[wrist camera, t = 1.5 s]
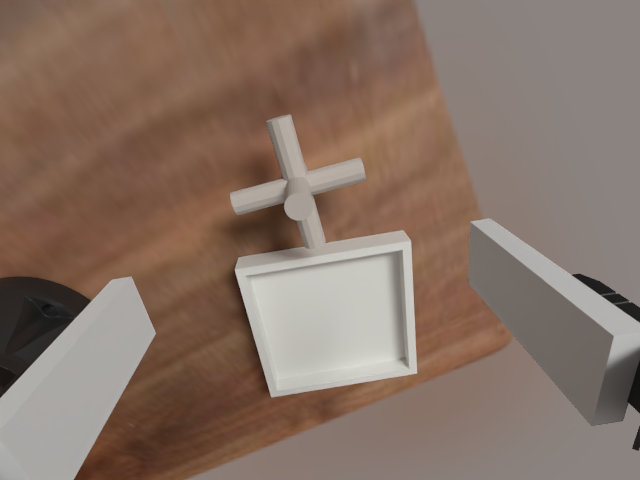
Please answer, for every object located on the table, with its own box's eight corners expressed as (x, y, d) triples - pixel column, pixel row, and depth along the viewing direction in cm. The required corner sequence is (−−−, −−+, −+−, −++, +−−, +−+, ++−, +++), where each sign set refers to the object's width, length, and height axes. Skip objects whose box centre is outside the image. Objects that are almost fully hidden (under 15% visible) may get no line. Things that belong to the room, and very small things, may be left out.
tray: (272, 379, 41) (271, 397, 38) (238, 257, 34) (234, 269, 32) (410, 357, 41) (417, 373, 38) (403, 230, 34) (410, 240, 32)
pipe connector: (363, 207, 33) (390, 255, 24) (261, 235, 33) (248, 292, 24) (339, 96, 29) (360, 102, 20) (223, 128, 29) (190, 149, 20)
